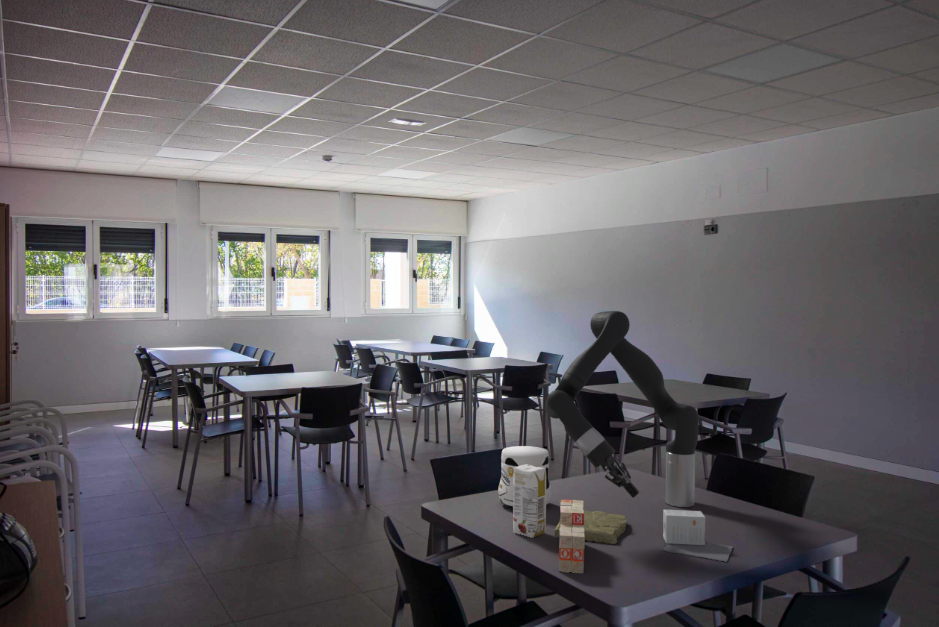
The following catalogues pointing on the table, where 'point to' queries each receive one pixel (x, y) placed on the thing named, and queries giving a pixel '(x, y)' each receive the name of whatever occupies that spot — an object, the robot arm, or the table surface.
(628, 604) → the table surface
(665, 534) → the small box
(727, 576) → the table surface
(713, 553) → the mat
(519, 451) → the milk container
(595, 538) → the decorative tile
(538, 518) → the juice carton
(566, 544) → the stack of blocks
